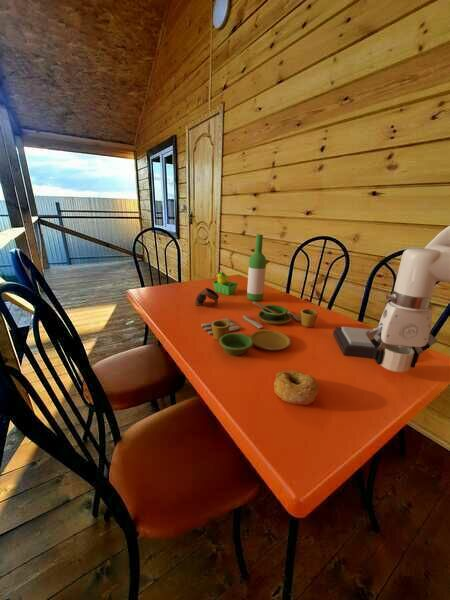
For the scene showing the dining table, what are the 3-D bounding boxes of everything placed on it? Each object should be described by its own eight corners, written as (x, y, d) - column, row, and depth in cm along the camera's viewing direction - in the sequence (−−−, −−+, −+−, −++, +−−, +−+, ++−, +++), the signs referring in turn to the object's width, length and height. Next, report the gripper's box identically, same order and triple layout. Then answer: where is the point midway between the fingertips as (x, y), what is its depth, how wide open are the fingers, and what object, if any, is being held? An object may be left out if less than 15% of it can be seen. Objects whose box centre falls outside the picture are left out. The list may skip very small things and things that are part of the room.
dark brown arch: (199, 300, 118) (208, 286, 116) (214, 312, 116) (224, 298, 114) (186, 301, 107) (196, 285, 105) (202, 315, 105) (213, 299, 103)
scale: (382, 339, 86) (384, 331, 85) (402, 361, 73) (405, 352, 72) (332, 334, 88) (334, 326, 87) (343, 355, 75) (345, 346, 74)
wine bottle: (252, 302, 117) (257, 235, 107) (243, 297, 123) (247, 233, 113) (266, 300, 120) (272, 235, 110) (256, 295, 127) (261, 233, 117)
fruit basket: (238, 293, 130) (239, 271, 126) (227, 297, 123) (228, 274, 119) (220, 288, 136) (221, 267, 132) (210, 292, 130) (210, 270, 126)
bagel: (307, 377, 65) (309, 361, 63) (324, 409, 54) (328, 391, 53) (268, 377, 64) (270, 361, 63) (278, 409, 54) (281, 391, 52)
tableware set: (285, 309, 109) (287, 295, 107) (338, 337, 86) (341, 320, 84) (195, 325, 92) (195, 308, 90) (230, 365, 69) (231, 345, 66)
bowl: (400, 359, 70) (405, 341, 69) (414, 375, 64) (420, 356, 62) (373, 356, 72) (377, 339, 70) (383, 371, 65) (388, 353, 63)
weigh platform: (374, 333, 84) (375, 329, 84) (387, 349, 74) (388, 344, 74) (341, 330, 86) (341, 326, 85) (349, 345, 76) (350, 341, 75)
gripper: (377, 303, 59) (363, 367, 65) (461, 308, 57) (438, 375, 63) (366, 293, 66) (354, 352, 72) (440, 297, 64) (421, 358, 70)
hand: (393, 362), depth 67 cm, fingers closed on bowl, 7 cm apart
